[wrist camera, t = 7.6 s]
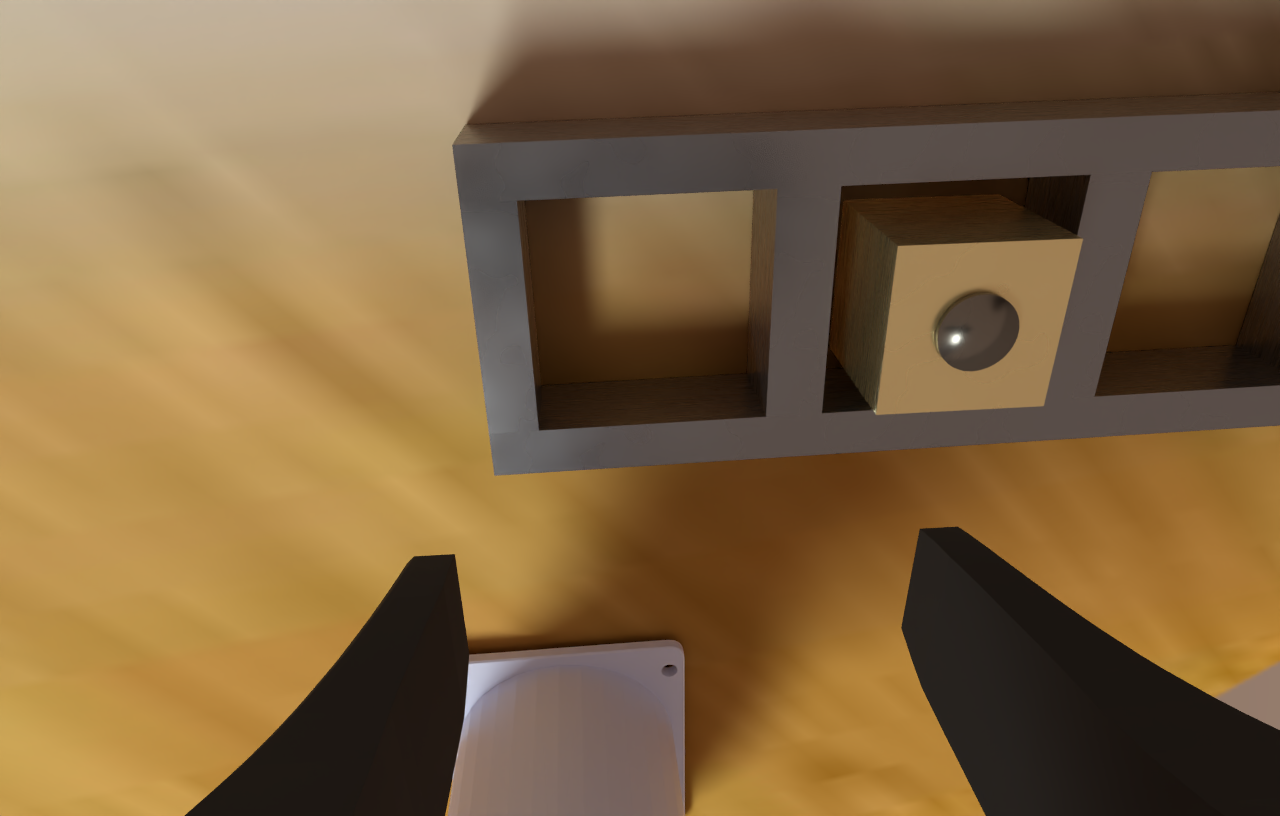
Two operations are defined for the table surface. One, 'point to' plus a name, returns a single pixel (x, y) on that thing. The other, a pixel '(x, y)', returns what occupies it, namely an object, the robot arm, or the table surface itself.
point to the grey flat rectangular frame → (804, 269)
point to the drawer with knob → (950, 302)
